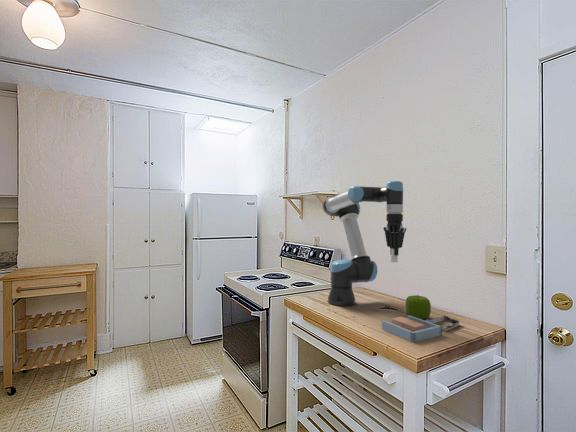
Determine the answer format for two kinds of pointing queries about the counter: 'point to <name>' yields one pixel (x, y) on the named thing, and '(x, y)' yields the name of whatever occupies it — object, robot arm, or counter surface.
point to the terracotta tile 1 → (399, 321)
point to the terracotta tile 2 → (413, 326)
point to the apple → (418, 306)
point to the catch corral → (428, 332)
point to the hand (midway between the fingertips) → (394, 261)
